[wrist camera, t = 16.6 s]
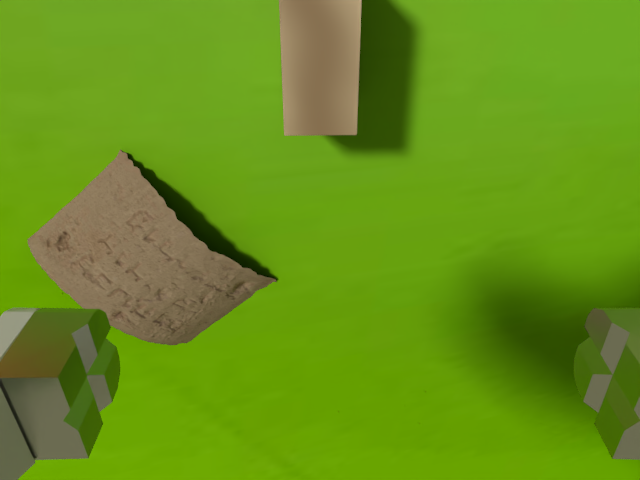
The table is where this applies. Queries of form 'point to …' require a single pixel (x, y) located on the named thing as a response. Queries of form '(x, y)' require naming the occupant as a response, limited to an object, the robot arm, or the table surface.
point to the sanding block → (320, 66)
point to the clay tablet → (139, 260)
